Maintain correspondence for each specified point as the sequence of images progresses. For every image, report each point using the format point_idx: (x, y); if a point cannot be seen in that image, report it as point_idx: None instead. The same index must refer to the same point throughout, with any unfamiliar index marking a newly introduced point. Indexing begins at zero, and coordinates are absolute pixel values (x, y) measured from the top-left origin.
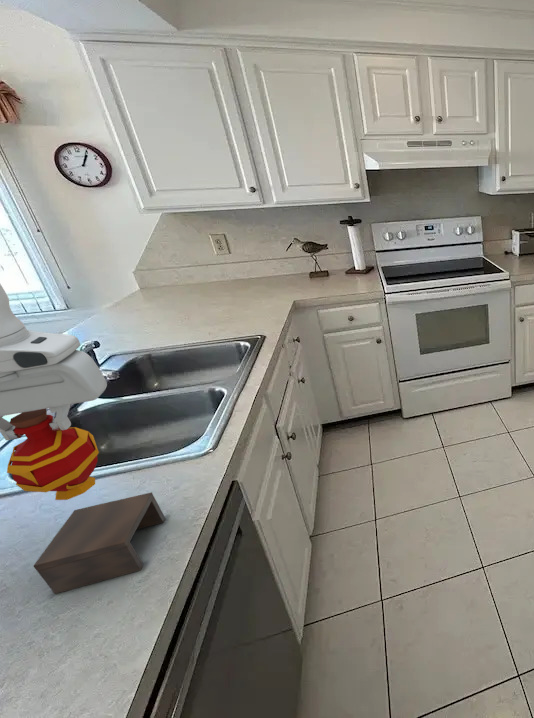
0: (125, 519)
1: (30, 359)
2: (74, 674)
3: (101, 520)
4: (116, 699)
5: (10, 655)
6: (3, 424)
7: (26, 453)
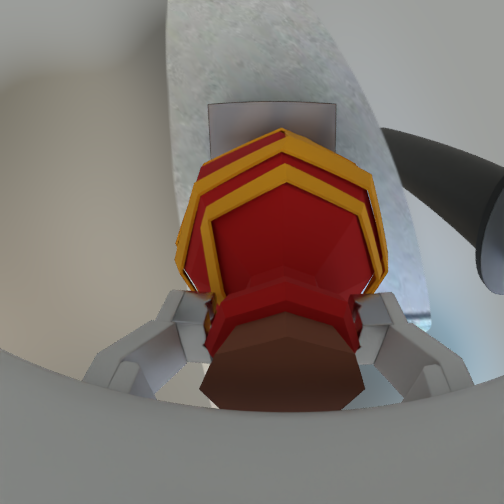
0: None
1: None
2: None
3: None
4: None
5: (327, 33)
6: (399, 363)
7: (308, 207)
